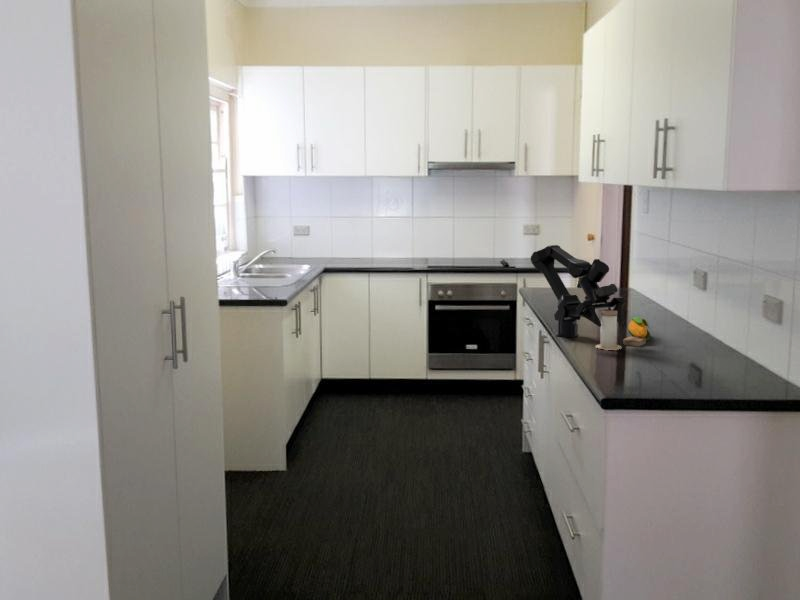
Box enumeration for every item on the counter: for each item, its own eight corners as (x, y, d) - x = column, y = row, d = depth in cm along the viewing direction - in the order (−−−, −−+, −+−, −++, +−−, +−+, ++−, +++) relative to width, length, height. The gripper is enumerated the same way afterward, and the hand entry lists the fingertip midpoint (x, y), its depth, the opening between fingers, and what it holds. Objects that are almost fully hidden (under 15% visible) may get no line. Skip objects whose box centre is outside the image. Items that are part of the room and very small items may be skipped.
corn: (645, 313, 319) (654, 323, 300) (646, 333, 321) (654, 344, 301) (626, 315, 321) (633, 324, 301) (627, 334, 322) (633, 345, 302)
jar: (597, 346, 297) (597, 311, 295) (603, 344, 301) (604, 308, 299) (612, 348, 293) (613, 312, 291) (619, 345, 298) (620, 310, 296)
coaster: (591, 348, 296) (591, 347, 296) (602, 344, 303) (602, 342, 303) (615, 351, 291) (615, 350, 291) (625, 347, 298) (625, 345, 298)
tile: (623, 344, 302) (623, 339, 302) (629, 341, 307) (630, 336, 306) (639, 346, 298) (639, 341, 298) (645, 343, 303) (645, 338, 303)
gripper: (581, 278, 293) (600, 314, 285) (623, 274, 301) (643, 309, 293) (567, 297, 301) (585, 332, 293) (608, 293, 309) (627, 327, 301)
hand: (610, 324), depth 295 cm, fingers open, 9 cm apart
